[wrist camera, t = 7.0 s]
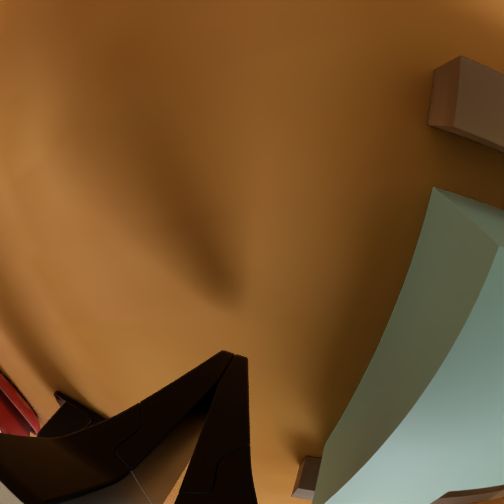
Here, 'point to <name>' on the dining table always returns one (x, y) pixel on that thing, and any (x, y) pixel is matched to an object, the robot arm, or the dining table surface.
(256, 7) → the dining table surface
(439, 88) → the dock
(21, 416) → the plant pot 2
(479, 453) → the tee
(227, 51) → the dining table surface
